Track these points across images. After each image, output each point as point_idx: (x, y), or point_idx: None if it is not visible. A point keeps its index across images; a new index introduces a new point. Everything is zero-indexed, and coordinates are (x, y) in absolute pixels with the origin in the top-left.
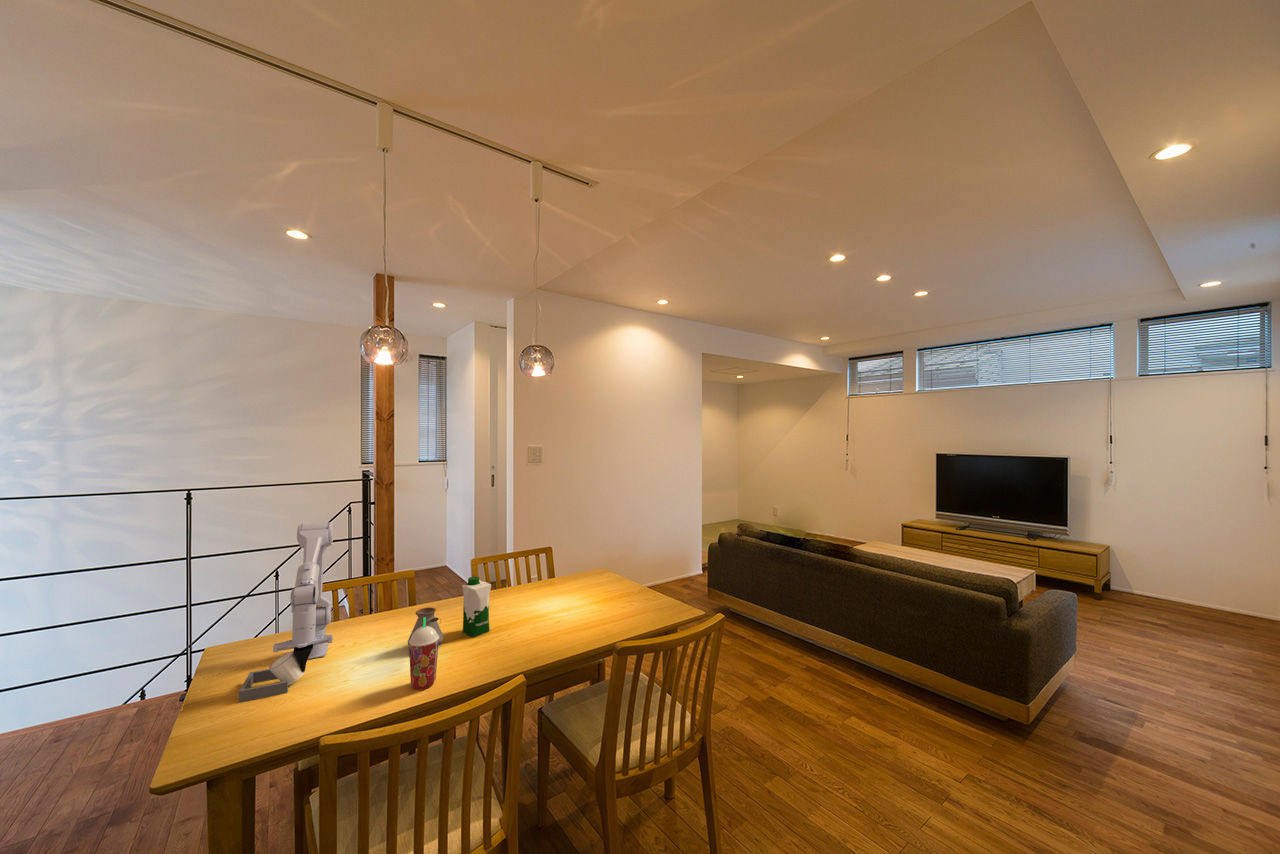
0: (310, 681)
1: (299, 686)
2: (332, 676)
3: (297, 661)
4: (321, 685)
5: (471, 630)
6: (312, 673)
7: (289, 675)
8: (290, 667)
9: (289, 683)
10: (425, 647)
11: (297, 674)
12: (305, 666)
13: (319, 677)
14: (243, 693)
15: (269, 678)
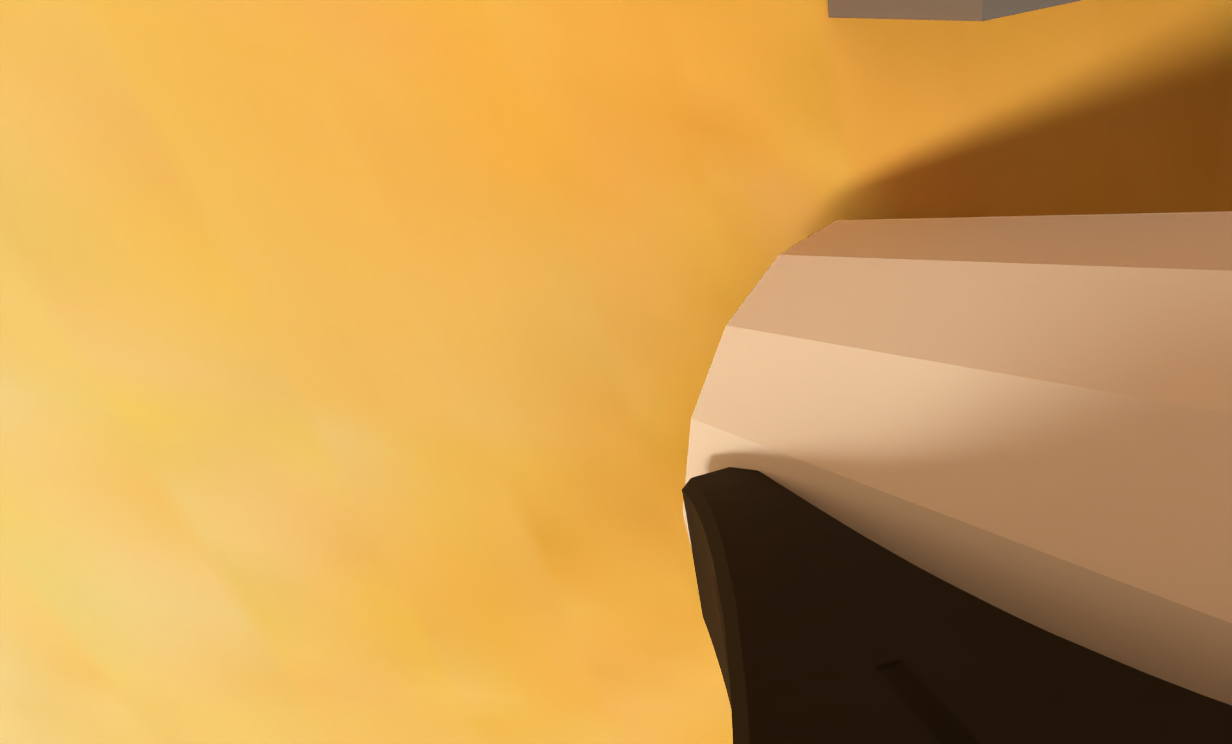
0: (495, 371)
1: (649, 190)
2: (77, 513)
3: None
4: (106, 99)
5: None
6: (582, 662)
7: (1018, 241)
8: (1206, 359)
9: (881, 219)
10: None
11: (816, 343)
12: (720, 639)
13: (374, 508)
14: None
15: None
